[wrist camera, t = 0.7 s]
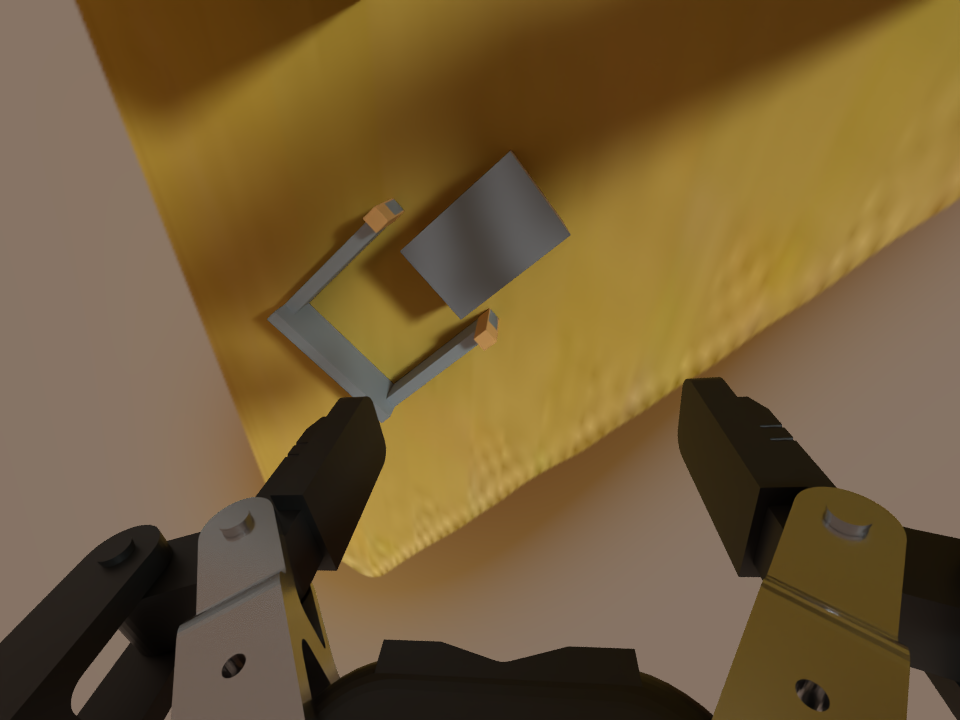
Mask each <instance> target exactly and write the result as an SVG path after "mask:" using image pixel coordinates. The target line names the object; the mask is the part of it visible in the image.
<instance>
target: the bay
mask: <svg viewBox="0 0 960 720" xmlns="http://www.w3.org/2000/svg"><path fill="white" fill-rule="evenodd" d="M403 212H404V210H403V209H402V208H401V207H400V205H399V204H398V203H397V202H396V201H395V200H394V199H393V198H392V199H390V200H387V201H385V202H383V203H381V204H378V205H376V206H375V207H374V208H373V209H372V210H371V211H370V212H369V213H368V214H367V215H366V216H365V217H364V218H363V219H364V221H365V222H366V223H365V224H364V225H363V226H362V227H361V228H360V229H359V230H358V231H357V232H356V233H355V234H354V235H353V236H352V237H351V238H350V239H349V240H348V241H347V242H346V243H345V244H344V245H343V246H342V247H341V248H340V249H339V250H338V251H337V252H336V253H335V254H334V255H333V256H332V257H331V258H330V259H329V260H328V261H327V262H326V263H325V264H324V265H323V266H322V267H321V268H320V269H319V270H318V271H317V272H316V273H315V274H314V275H313V276H312V277H311V278H310V279H309V280H308V281H307V282H306V283H305V284H304V285H303V286H302V287H301V288H300V289H299V290H298V291H297V292H296V293H295V294H294V295H293V296H292V297H291V298H290V299H289V300H288V302H287V303H286V304H285V305H283V306H282V307H280V308H279V309H277V310H276V311H275V312H274V313H273V314H272V315H271V316H270V317H269V318H268V319H267V320H268V321H269V322H270V323H271V324H273V325H274V326H275V327H276V328H277V329H278V330H279V331H280V332H281V333H283V334H284V335H285V336H286V337H287V338H288V339H289V340H290V341H291V342H293V343H294V344H295V345H296V346H297V347H298V348H299V349H300V350H301V351H302V352H304V353H305V354H306V355H307V356H308V357H309V358H310V359H311V360H312V361H314V362H315V363H316V364H317V365H318V366H319V367H320V368H321V369H322V370H324V371H325V372H326V373H327V374H328V375H329V376H330V377H331V378H332V379H334V380H335V381H336V382H337V383H338V384H339V385H340V386H341V387H342V388H344V389H345V390H346V391H347V392H348V393H349V394H350V395H351V396H352V397H363V396H368V397H370V398H371V399H372V401H373V404H374V407H375V410H376V413H377V417H378V420H379V421H380V422H381V423H382V422H384V421H385V420H386V419H388V418H389V417H390V415H391V413H392V411H393V409H394V407H395V406H396V405H398V404H399V403H400V402H402V401H403V400H404V399H406V398H407V397H408V396H410V395H411V394H412V393H414V392H415V391H416V390H418V389H419V388H420V387H422V386H423V385H424V384H426V383H427V382H428V381H430V380H431V379H432V378H434V377H435V376H436V375H438V374H439V373H440V372H442V371H443V370H444V369H446V368H447V367H448V366H450V365H451V364H452V363H454V362H455V361H456V360H458V359H459V358H460V357H462V356H463V355H464V354H466V353H467V352H468V351H470V350H471V349H472V348H474V347H475V346H477V345H479V346H480V347H481V348H482V349H483V350H484V351H485V350H486V349H487V348H489V347H490V346H491V345H493V344H494V343H495V342H497V334H498V324H499V318H498V317H497V316H496V315H495V314H494V313H493V312H492V310H491V309H490V308H489V309H488V310H487V311H485V312H484V313H483V314H482V315H480V316H479V317H478V319H477V320H476V321H475V322H473V323H472V324H471V325H469V326H468V327H467V328H466V329H464V330H463V331H462V332H460V333H459V334H458V335H456V336H455V337H454V338H453V339H451V340H450V341H449V342H447V343H446V344H445V345H444V346H442V347H441V348H440V349H438V350H437V351H436V352H435V353H433V354H432V355H431V356H429V357H428V358H427V359H426V360H424V361H423V362H422V363H420V364H419V365H418V366H417V367H415V368H414V369H413V370H411V371H410V372H409V373H408V374H406V375H405V376H404V377H402V378H401V379H400V380H399V381H397V382H396V383H395V384H393V383H392V382H391V381H390V380H389V379H388V378H387V377H386V376H385V375H383V374H382V373H381V372H380V371H379V370H378V369H377V368H376V367H375V366H374V365H373V364H372V363H371V362H370V361H369V360H368V359H367V358H366V357H365V356H364V355H362V354H361V353H360V352H359V351H358V350H357V349H356V348H355V347H354V346H353V345H352V344H351V343H350V342H349V341H348V340H347V339H346V338H345V337H344V336H343V335H341V334H340V333H339V332H338V331H337V330H336V329H335V328H334V327H333V326H332V325H331V324H330V323H329V322H328V321H327V320H326V319H325V318H324V317H323V316H322V315H320V314H319V313H318V312H317V311H316V310H315V309H314V308H313V307H312V306H311V305H310V304H309V302H310V301H311V300H312V299H313V298H314V297H315V296H316V295H317V294H318V293H319V292H320V291H322V290H323V289H324V288H325V287H326V286H327V285H328V284H329V283H330V282H331V281H332V280H333V279H334V278H335V277H336V276H337V275H338V274H339V273H340V272H341V271H342V270H343V269H344V268H345V267H346V266H347V265H348V264H349V263H350V262H351V261H352V260H353V259H354V258H355V257H356V256H357V255H358V254H359V253H360V252H361V251H362V250H363V249H364V248H365V247H366V246H367V245H369V244H370V243H371V242H372V241H373V240H374V239H375V238H376V237H377V236H378V235H379V234H380V233H381V232H382V231H383V230H384V229H385V228H386V227H387V226H388V225H390V224H391V223H393V222H394V221H395V220H396V219H397V218H398V217H399V216H400V215H401V214H402V213H403Z"/></svg>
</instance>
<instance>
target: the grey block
mask: <svg viewBox="0 0 960 720" xmlns="http://www.w3.org/2000/svg"><path fill="white" fill-rule="evenodd" d="M569 236H570V233H569V231H568V230H567V228H566V226H565V224H564V223H563V221H562V219H561V218H560V217H559V215H558V214H557V212H556V211H555V210H554V208H553V207H552V206H551V204H550V203H549V201H548V200H547V199H546V197H545V196H544V194H543V193H542V192H541V190H540V189H539V187H538V186H537V185H536V183H535V182H534V181H533V179H532V178H531V176H530V175H529V174H528V172H527V171H526V169H525V168H524V167H523V165H522V164H521V162H520V161H519V160H518V158H517V157H516V156H515V154H514V153H513V151H512V150H510V151H509V152H508V153H507V154H506V155H505V156H504V157H503V158H502V159H501V160H499V161H498V162H497V163H496V164H495V165H494V166H493V167H492V168H491V169H490V170H488V171H487V172H486V173H485V174H484V175H483V176H482V177H481V178H480V179H479V180H477V181H476V182H475V183H474V184H473V185H472V186H471V187H470V188H469V189H468V190H466V191H465V192H464V193H463V194H462V195H461V196H460V197H459V198H458V199H457V200H456V201H454V202H453V203H452V204H451V205H450V206H449V207H448V208H447V209H446V210H445V211H443V212H442V213H441V214H440V215H439V216H438V217H437V218H436V219H435V220H434V221H432V222H431V223H430V224H429V225H428V226H427V227H426V228H425V229H424V230H423V231H421V232H420V233H419V234H418V235H417V236H416V237H415V238H414V239H413V240H412V241H411V242H410V243H408V244H407V245H406V246H405V247H404V248H403V249H402V250H401V251H400V252H401V253H402V254H403V255H404V257H405V258H406V259H407V260H408V261H409V262H410V263H411V264H412V266H413V267H414V268H415V269H416V270H417V271H418V272H419V273H420V274H421V276H422V277H423V278H424V279H425V280H426V281H427V282H428V283H429V285H430V286H431V287H432V288H433V289H434V290H435V291H436V292H437V293H438V295H439V296H440V297H441V298H442V299H443V300H444V301H445V302H446V304H447V305H448V306H449V307H450V308H451V309H452V310H453V311H454V312H455V314H456V315H457V316H458V317H459V318H460V319H462V318H464V317H465V316H466V315H468V314H469V313H470V312H471V311H473V310H474V309H475V308H477V307H478V306H479V305H481V304H482V303H483V302H484V301H486V300H487V299H488V298H490V297H491V296H492V295H493V294H495V293H496V292H497V291H499V290H500V289H501V288H503V287H504V286H505V285H506V284H508V283H509V282H510V281H512V280H513V279H514V278H516V277H517V276H518V275H519V274H521V273H522V272H523V271H525V270H526V269H527V268H529V267H530V266H531V265H532V264H534V263H535V262H536V261H538V260H539V259H540V258H541V257H543V256H544V255H545V254H547V253H548V252H549V251H551V250H552V249H553V248H554V247H556V246H557V245H558V244H560V243H561V242H562V241H564V240H565V239H566V238H567V237H569Z"/></svg>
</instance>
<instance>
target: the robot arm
mask: <svg viewBox="0 0 960 720" xmlns="http://www.w3.org/2000/svg"><path fill="white" fill-rule="evenodd" d="M678 443H679V449H680V452H681V455H682V457H683V460H684V462H685V464H686V466H687V468H688V470H689V472H690V475H691V477H692V479H693V481H694V483H695V485H696V487H697V489H698V492H699V493H700V496H701V498H702V500H703V502H704V504H705V506H706V508H707V510H708V512H709V515H710V517H711V519H712V521H713V523H714V525H715V527H716V530H717V532H718V534H719V536H720V538H721V540H722V542H723V544H724V547H725V549H726V551H727V553H728V555H729V557H730V559H731V561H732V564H733V566H734V568H735V570H736V572H737V574H738V576H739V577H761V578H762V580H763V582H762V584H761V587H760V590H759V592H758V595H757V598H756V601H755V603H754V606H753V609H752V611H751V614H750V617H749V619H748V622H747V625H746V628H745V630H744V633H743V636H742V638H741V641H740V644H739V647H738V649H737V652H736V655H735V658H734V660H733V663H732V666H731V668H730V671H729V674H728V677H727V679H726V682H725V685H724V688H723V690H722V693H721V696H720V699H719V701H718V704H717V706H716V709H715V712H714V715H712V714H711V713H710V712H709V711H708V710H707V709H705V708H704V707H703V706H701V705H700V704H699V703H698V702H696V701H695V700H694V699H692V698H691V697H689V696H688V695H687V694H685V693H684V692H682V691H680V690H678V689H677V688H675V687H673V686H672V685H670V684H669V683H666V682H664V681H662V680H660V679H658V678H656V677H653V676H651V675H648V674H645V673H642V672H639V668H638V664H637V658H636V653H635V649H621V648H594V647H565V648H561V649H557V650H553V651H549V652H545V653H541V654H537V655H533V656H529V657H526V658H521V659H517V660H513V661H508V662H499V661H495V660H492V659H489V658H486V657H484V656H480V655H478V654H475V653H472V652H469V651H466V650H463V649H460V648H458V647H455V646H452V645H449V644H446V643H443V642H434V641H408V640H384V641H383V644H382V648H381V652H380V655H379V658H378V661H377V662H373V663H370V664H368V665H365V666H363V667H360V668H358V669H356V670H354V671H352V672H350V673H348V674H346V675H345V676H343V677H341V678H340V677H339V674H338V671H337V669H336V666H335V663H334V660H333V657H332V653H331V649H330V645H329V641H328V638H327V634H326V630H325V626H324V623H323V619H322V615H321V611H320V607H319V603H318V599H317V596H316V592H315V589H314V587H313V584H312V580H313V578H314V576H315V574H316V572H317V570H329V571H330V570H331V571H332V570H333V571H336V570H337V569H338V567H339V564H340V562H341V560H342V558H343V555H344V553H345V551H346V549H347V546H348V544H349V542H350V540H351V537H352V535H353V533H354V530H355V528H356V526H357V524H358V521H359V519H360V517H361V515H362V512H363V510H364V508H365V506H366V503H367V501H368V499H369V496H370V494H371V492H372V490H373V487H374V485H375V483H376V481H377V478H378V476H379V474H380V472H381V469H382V467H383V465H384V462H385V456H386V445H385V440H384V437H383V433H382V430H381V427H380V423H379V420H378V417H377V413H376V410H375V407H374V404H373V401H372V399H371V398H370V397H368V396H363V397H346V398H340V399H339V400H338V401H337V402H336V404H335V405H334V407H333V408H332V409H331V411H330V412H329V414H328V415H327V416H326V417H322V418H320V419H319V420H318V421H316V422H315V423H314V424H313V425H311V426H310V427H309V428H307V429H306V430H305V432H304V433H303V434H302V436H301V437H300V438H299V440H298V441H297V442H296V445H294V446H293V448H292V449H291V450H290V452H289V453H288V457H285V458H284V460H283V461H282V462H281V464H280V465H279V466H278V468H277V469H276V470H275V472H274V473H273V474H272V475H271V477H270V478H269V479H268V481H267V482H266V483H265V485H264V486H263V488H262V489H261V490H260V492H259V493H258V494H257V496H256V497H252V498H247V499H243V500H240V501H238V502H235V503H233V504H231V505H229V506H227V507H226V508H224V509H223V510H221V511H220V512H218V513H217V514H216V515H215V516H213V517H212V518H211V519H210V520H209V521H208V523H207V524H206V525H205V526H204V528H203V529H202V531H201V532H199V533H195V534H191V535H188V536H184V537H180V538H177V539H173V540H169V541H166V539H165V538H164V536H163V535H162V534H161V532H160V531H159V529H158V528H157V527H155V526H152V525H141V526H137V527H133V528H130V529H127V530H125V531H122V532H120V533H118V534H116V535H114V536H112V537H111V538H109V539H107V540H106V541H104V542H103V543H101V544H100V545H98V546H97V547H96V548H95V549H94V550H92V551H91V552H90V553H89V554H88V555H87V556H86V557H85V558H84V559H83V560H82V561H81V562H80V563H79V564H78V565H77V566H76V567H75V568H74V569H73V570H72V571H71V572H70V573H69V574H68V575H67V576H66V577H65V578H64V579H63V580H62V581H61V582H60V583H59V584H58V585H57V586H56V587H55V588H54V589H53V590H52V591H51V592H50V593H49V594H48V596H46V597H45V598H44V599H43V600H42V601H41V602H40V603H39V604H38V605H37V606H36V607H35V609H33V610H32V611H31V612H30V613H29V614H28V615H27V616H26V617H25V618H24V620H23V621H21V623H20V624H18V625H17V626H16V628H14V630H13V631H12V632H11V633H10V634H9V635H8V636H7V637H6V638H5V639H4V640H3V641H2V642H1V643H0V720H164V719H165V717H166V715H167V713H168V712H169V710H170V708H171V707H172V711H171V720H906V718H907V703H908V689H909V675H910V667H912V668H916V669H919V670H922V671H925V673H926V674H927V676H928V677H929V679H930V680H931V682H932V683H933V685H934V686H935V688H936V689H937V691H938V692H939V694H940V695H941V697H942V698H943V699H944V701H945V702H946V704H947V705H948V707H949V708H950V710H951V711H952V713H953V714H954V716H955V717H956V719H957V720H960V539H958V538H953V537H948V536H943V535H939V534H933V533H929V532H924V531H919V530H914V529H910V528H906V527H902V525H901V524H900V522H899V521H898V520H897V519H896V518H895V517H894V516H893V515H892V514H891V513H890V512H889V511H887V510H886V509H885V508H883V507H882V506H880V505H879V504H877V503H875V502H874V501H872V500H870V499H868V498H866V497H864V496H861V495H859V494H856V493H853V492H850V491H847V490H843V489H839V488H836V486H835V485H834V484H833V483H832V482H831V481H830V480H829V478H828V477H827V476H826V475H825V474H824V472H823V471H822V470H821V469H820V468H819V467H818V466H817V465H816V463H815V462H814V461H813V460H812V459H811V457H810V456H809V455H808V454H807V453H806V452H805V451H804V449H803V448H802V447H801V446H800V445H799V444H798V442H797V441H794V440H793V437H792V436H791V434H790V433H789V432H788V431H787V430H786V429H785V428H782V424H781V423H780V422H779V421H778V420H777V418H776V417H775V416H774V415H773V414H772V413H771V411H770V410H769V409H768V408H766V407H764V406H763V405H761V404H759V403H757V402H756V401H754V400H752V399H751V398H749V397H737V396H736V395H735V394H734V392H733V391H732V390H731V389H730V387H729V386H728V385H727V383H726V382H725V381H724V380H723V379H722V378H721V377H712V378H694V379H686V380H685V381H684V383H683V388H682V396H681V405H680V415H679V425H678ZM118 629H119V630H120V631H121V632H122V634H123V635H124V636H125V637H126V638H127V639H128V640H129V641H130V642H131V643H130V644H129V645H128V647H127V648H126V650H125V651H124V652H123V653H122V655H121V656H120V658H119V659H118V660H117V662H116V663H115V664H114V666H113V667H112V668H111V670H110V671H109V673H108V674H107V675H106V677H105V678H104V679H103V681H102V682H101V683H100V685H99V686H98V688H97V689H96V691H95V692H94V693H93V694H92V696H91V697H90V698H89V700H88V701H87V703H86V704H85V705H84V707H83V708H82V709H81V711H80V712H79V714H78V715H77V716H76V715H75V714H74V713H73V711H72V709H71V698H72V693H73V691H74V688H75V686H76V684H77V682H78V680H79V679H80V678H81V676H82V675H83V673H84V672H85V671H86V670H87V668H88V667H89V666H90V664H91V663H92V662H93V661H94V659H95V658H96V657H97V656H98V654H99V653H100V652H101V650H102V649H103V648H104V646H105V645H106V644H107V643H108V641H109V640H110V639H111V638H112V636H113V635H114V634H115V632H116V631H117V630H118Z"/></svg>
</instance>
